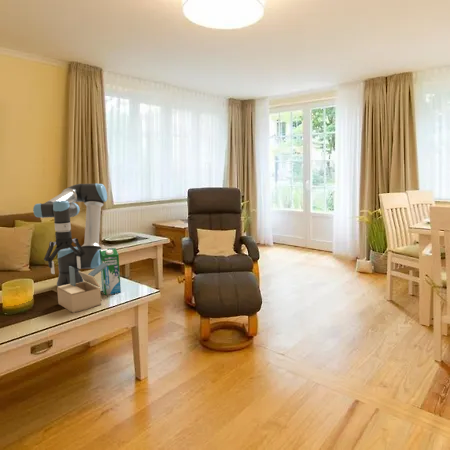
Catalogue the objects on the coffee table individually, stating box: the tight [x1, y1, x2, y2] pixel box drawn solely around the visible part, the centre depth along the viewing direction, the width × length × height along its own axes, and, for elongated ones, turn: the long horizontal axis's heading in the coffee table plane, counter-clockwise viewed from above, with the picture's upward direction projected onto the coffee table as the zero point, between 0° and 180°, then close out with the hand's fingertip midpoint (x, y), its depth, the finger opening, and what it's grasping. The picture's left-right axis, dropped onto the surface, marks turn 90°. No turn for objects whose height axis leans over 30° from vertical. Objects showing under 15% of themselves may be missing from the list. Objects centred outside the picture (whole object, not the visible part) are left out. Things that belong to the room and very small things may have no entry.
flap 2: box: [78, 263, 108, 288], centre depth 197 cm, size 17×7×10 cm
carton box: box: [56, 281, 102, 314], centre depth 191 cm, size 18×15×9 cm
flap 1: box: [57, 266, 85, 295], centre depth 187 cm, size 17×7×10 cm, turn 46°
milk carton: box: [100, 247, 122, 296], centre depth 210 cm, size 9×9×25 cm
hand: (66, 271), depth 189 cm, fingers open, 13 cm apart
